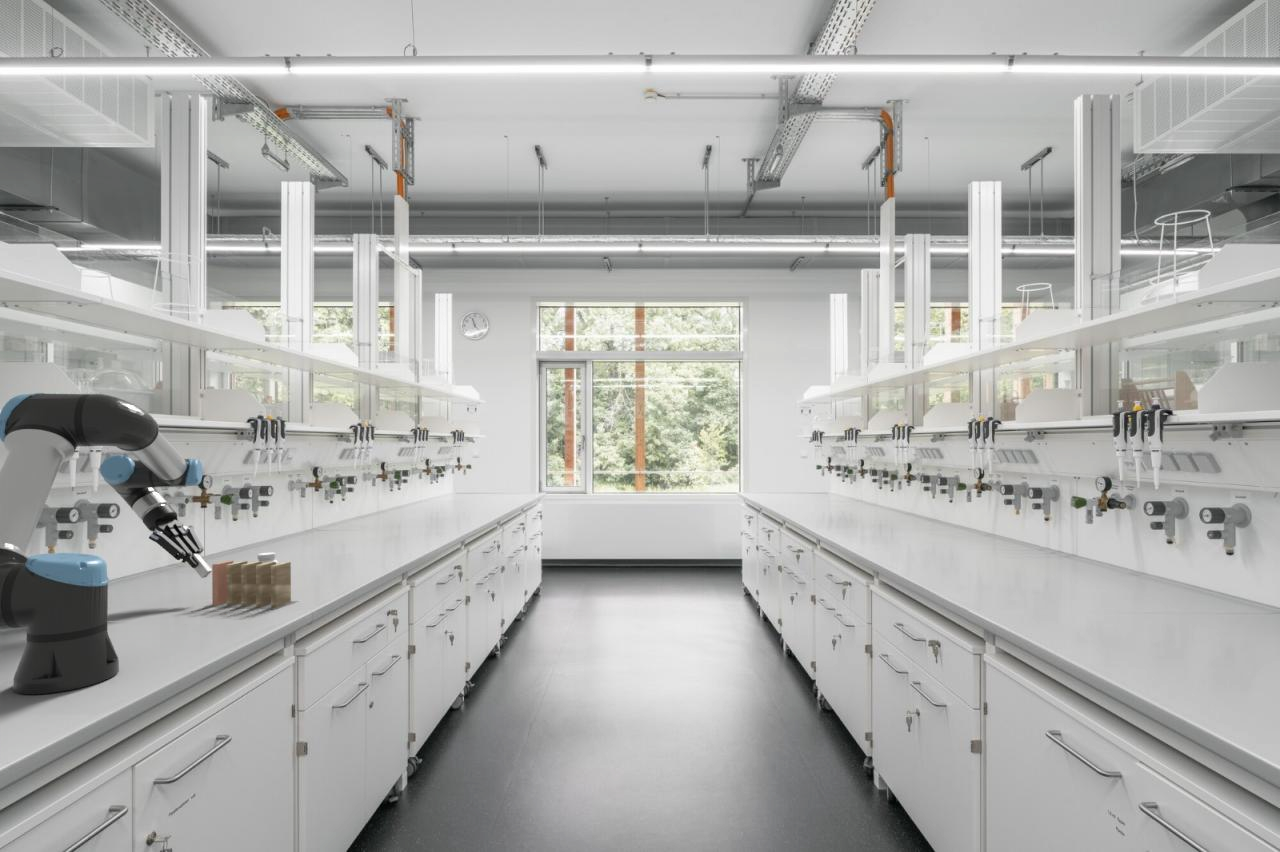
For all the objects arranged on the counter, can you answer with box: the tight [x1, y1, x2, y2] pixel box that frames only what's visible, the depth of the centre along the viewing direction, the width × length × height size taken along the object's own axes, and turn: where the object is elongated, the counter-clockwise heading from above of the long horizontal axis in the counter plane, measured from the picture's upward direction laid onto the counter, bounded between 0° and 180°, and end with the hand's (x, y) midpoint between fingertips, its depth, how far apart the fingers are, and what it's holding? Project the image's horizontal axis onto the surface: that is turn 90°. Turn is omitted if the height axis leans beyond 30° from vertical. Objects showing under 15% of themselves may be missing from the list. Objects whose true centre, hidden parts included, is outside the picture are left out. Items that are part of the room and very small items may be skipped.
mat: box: [203, 600, 300, 611], centre depth 186 cm, size 22×9×1 cm, turn 79°
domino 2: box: [227, 560, 248, 606], centre depth 187 cm, size 2×6×11 cm, turn 169°
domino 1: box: [211, 560, 234, 605], centre depth 188 cm, size 2×6×11 cm, turn 169°
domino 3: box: [241, 560, 262, 607], centre depth 186 cm, size 2×6×11 cm, turn 169°
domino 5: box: [271, 561, 292, 608], centre depth 184 cm, size 2×6×11 cm, turn 169°
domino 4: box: [256, 562, 276, 607], centre depth 185 cm, size 2×6×11 cm, turn 169°
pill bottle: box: [257, 552, 279, 564], centre depth 204 cm, size 6×6×11 cm
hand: (207, 574), depth 189 cm, fingers closed
